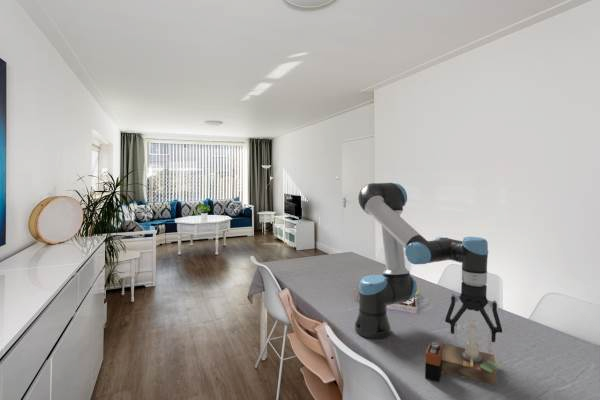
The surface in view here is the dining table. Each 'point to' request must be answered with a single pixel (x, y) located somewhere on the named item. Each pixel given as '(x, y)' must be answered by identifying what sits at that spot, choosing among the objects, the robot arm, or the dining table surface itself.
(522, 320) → the dining table surface
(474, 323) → the peg knob
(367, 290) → the robot arm
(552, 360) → the dining table surface
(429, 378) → the battery
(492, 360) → the board
